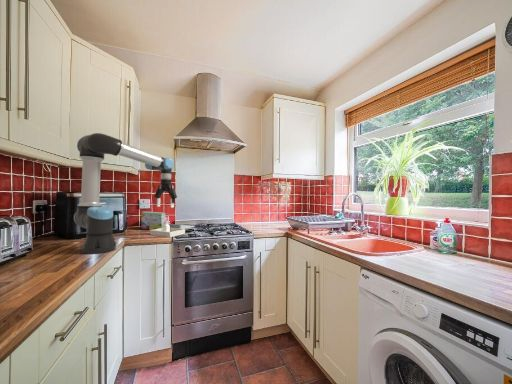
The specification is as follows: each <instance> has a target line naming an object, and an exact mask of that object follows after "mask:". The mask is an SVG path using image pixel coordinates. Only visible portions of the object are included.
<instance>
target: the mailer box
mask: <svg viewBox="0 0 512 384" xmlns="http://www.w3.org/2000/svg"><path fill="white" fill-rule="evenodd" d="M162 230H163V228H159V229H153V230H149V236H155V237H156V236H157V237H163V238H164V237H165V238H172V237H177V236H181V235H185V234H186V229H172V228H170V232H166V231H162Z"/></svg>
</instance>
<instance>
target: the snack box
mask: <svg viewBox="0 0 512 384" xmlns="http://www.w3.org/2000/svg"><path fill="white" fill-rule="evenodd" d="M164 221H166V212H160V211H158V212H157V211H141V223H140V225H141V227H140V228H141V230H148V229H149V231H150V230H153V229H159V228H162V227H163V225H164Z"/></svg>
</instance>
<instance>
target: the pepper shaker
mask: <svg viewBox="0 0 512 384" xmlns="http://www.w3.org/2000/svg"><path fill="white" fill-rule="evenodd" d="M168 224H170V223H169V220H165V221H164V225H163V230H162V231H166V232H170V225H168Z"/></svg>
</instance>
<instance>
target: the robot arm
mask: <svg viewBox="0 0 512 384" xmlns="http://www.w3.org/2000/svg"><path fill="white" fill-rule="evenodd" d="M76 148H77V150H78V152H79V158H80V159H81V160H82V166H81V167H82V169H81V171H82V172H81V188H80V189H81V192H80V194H81V195H80V202H79V203H78V204H77V206H76V207H77V208H76V211H75V213H74V215H73V221H74V223H75V224H76V225H77V226H78V227H80V228H82V229H86V238H85V240H84V243H83V244H82V246H81V247H82V248H81V253H82V254H85V255H86V254H89V255H91V254H92V255H94V254H102V253H109V252H113V251H115V250H116V249H117V245H116V241H115V239H114V235H113V228H114V209H113V208H111V207H108V206H103V204H102V203H100V193H101V192H100V190H101V167H102V165H101V164H102V162H103V161H105V155H111V156H114V157H117V156H122V157H124V158H127V159H130V160H133V161H137V162H140V163H143V164H144V167H145V169H146V170H150V171H159V172H160V184H161V185H158V186H157V189H156V191H155V194H154V198H156V207H157V208H159V207H161V197H162V195H163V194H164V193H165V192H167V193H168V195H169V197H170V208H171V209H172V208H175V199H177V198H178V195H177V193H176V190H175V186H174V185H172V170H173V167H174V160H173V159H172V158H169V157H163V156H159V155H157V154H154V153H151V152H148V151H145V150H143V149H141V148H138V147H135V146H132V145H129V144H127V143H124V142H123V141H122V140H121V139H119V138H116V137H113V136H111V135H108V134H104V133H102V132H101V133H100V132H94V133H92V134H87V135H84V136H82V137H81V138H80V139H78V140H77V143H76Z"/></svg>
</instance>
